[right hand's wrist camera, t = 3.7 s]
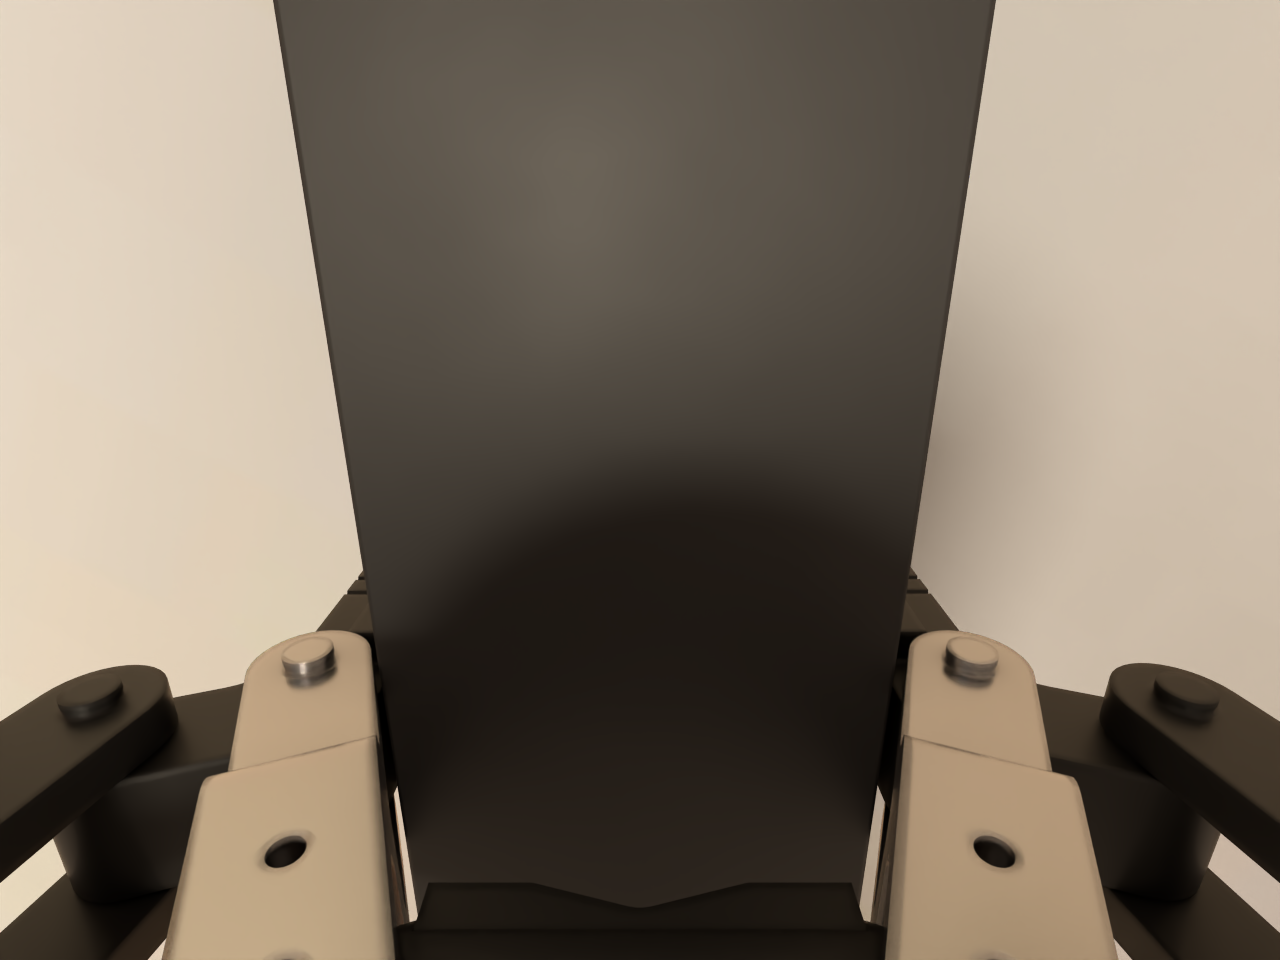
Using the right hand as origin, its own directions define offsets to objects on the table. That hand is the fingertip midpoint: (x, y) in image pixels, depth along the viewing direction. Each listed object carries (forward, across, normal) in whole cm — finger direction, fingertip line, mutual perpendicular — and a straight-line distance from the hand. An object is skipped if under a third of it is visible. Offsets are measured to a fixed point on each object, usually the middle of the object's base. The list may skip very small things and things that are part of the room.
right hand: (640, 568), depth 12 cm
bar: (+4, 0, +10) cm, 11 cm away
